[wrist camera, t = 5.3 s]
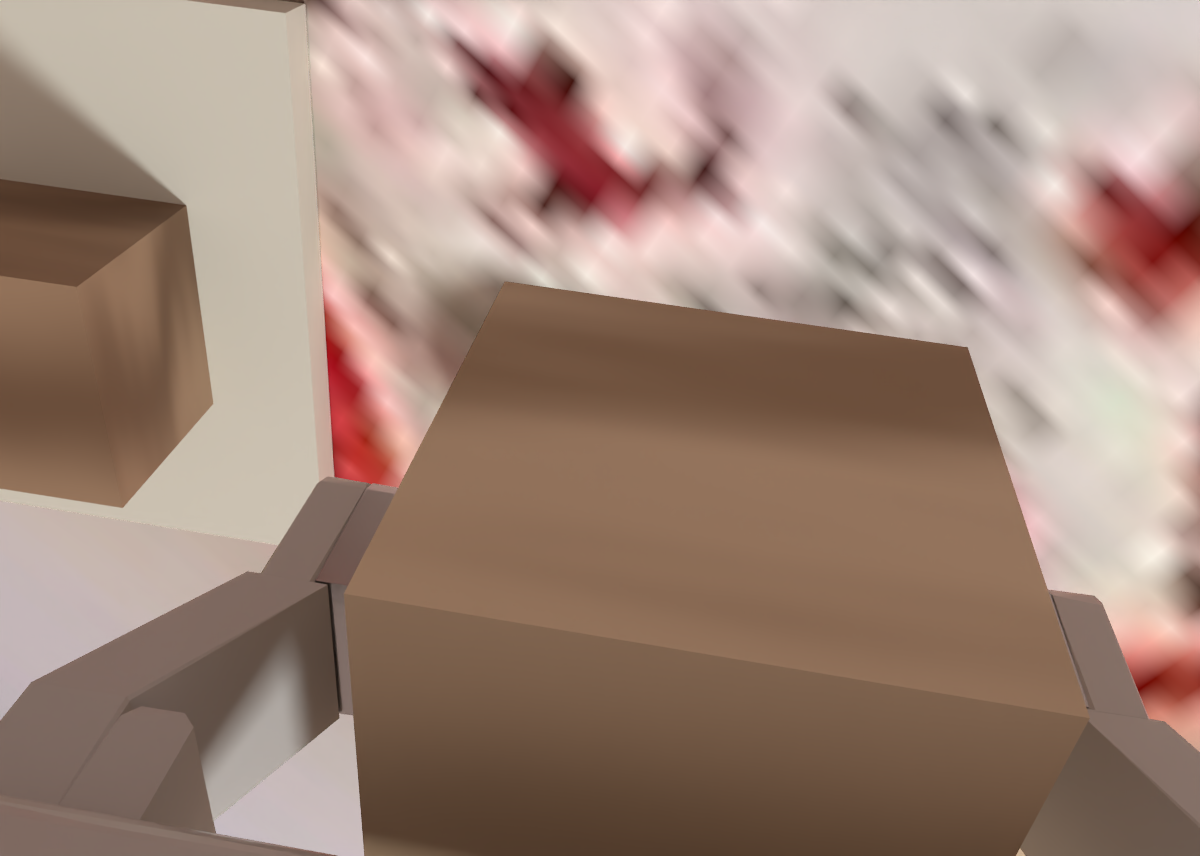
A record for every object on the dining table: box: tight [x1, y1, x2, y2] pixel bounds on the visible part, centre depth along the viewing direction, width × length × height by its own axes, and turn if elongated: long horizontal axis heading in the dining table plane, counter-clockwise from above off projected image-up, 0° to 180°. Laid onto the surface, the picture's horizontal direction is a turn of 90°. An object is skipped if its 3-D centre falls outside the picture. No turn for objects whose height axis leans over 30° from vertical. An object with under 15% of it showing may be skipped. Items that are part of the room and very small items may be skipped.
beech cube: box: [344, 282, 1090, 856], centre depth 10 cm, size 5×5×5 cm
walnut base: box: [0, 179, 213, 508], centre depth 25 cm, size 6×6×5 cm
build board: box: [0, 0, 334, 545], centre depth 28 cm, size 16×12×1 cm
